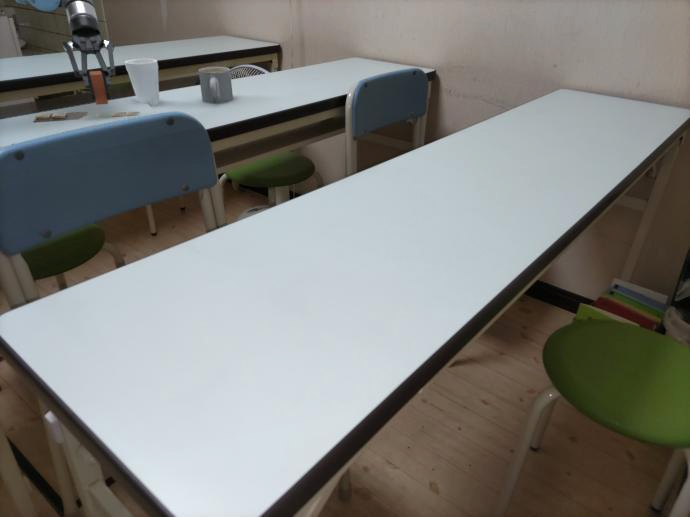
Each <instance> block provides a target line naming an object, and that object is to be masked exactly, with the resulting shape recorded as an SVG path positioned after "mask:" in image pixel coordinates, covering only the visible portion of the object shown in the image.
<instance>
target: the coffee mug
mask: <svg viewBox="0 0 690 517" xmlns="http://www.w3.org/2000/svg"><path fill="white" fill-rule="evenodd" d="M198 77H199V78H198V79H199V84H200V93H201V101H202V102H203V103H207V104H225V103H229V102H232V101H233V100H234V94H233V84H232V76H231V69H230V68H229V67H225V66H207V67H202V68H199V69H198Z"/></svg>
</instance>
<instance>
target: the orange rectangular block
mask: <svg viewBox="0 0 690 517" xmlns="http://www.w3.org/2000/svg"><path fill="white" fill-rule="evenodd" d="M102 73H103V72H102V70H90V71H89V70H88V74H90V77H91V81H92V85H93V90H94V94H95V99H96V100H94V102H95V104H96V106H97V105H108V104H109V101H108V100H109V99H107V96H106V91H105V86H104V81H103V76H102Z"/></svg>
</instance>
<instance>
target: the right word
mask: <svg viewBox="0 0 690 517" xmlns="http://www.w3.org/2000/svg"><path fill="white" fill-rule="evenodd" d="M98 116H101V113H97V114H96V117H98ZM135 116H136V117H138V116H140V111H122V112H121V111H120V112H119V111H117V112H112V114H111V118H121V117H135Z"/></svg>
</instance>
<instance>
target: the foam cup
mask: <svg viewBox="0 0 690 517" xmlns="http://www.w3.org/2000/svg"><path fill="white" fill-rule="evenodd" d="M124 65H125V69H126V71H127V74H128V77H129V80H130V83H131V86H132V89H133V92H134V95H135V98H136V101H137V103H141V104H148V105H149V107H156V106H159V105H160V85H159V84H160V82H159V63H158V60H157V59H154V58H134V59H133V58H132V59H128V60H125V61H124ZM155 105H156V106H155Z"/></svg>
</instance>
